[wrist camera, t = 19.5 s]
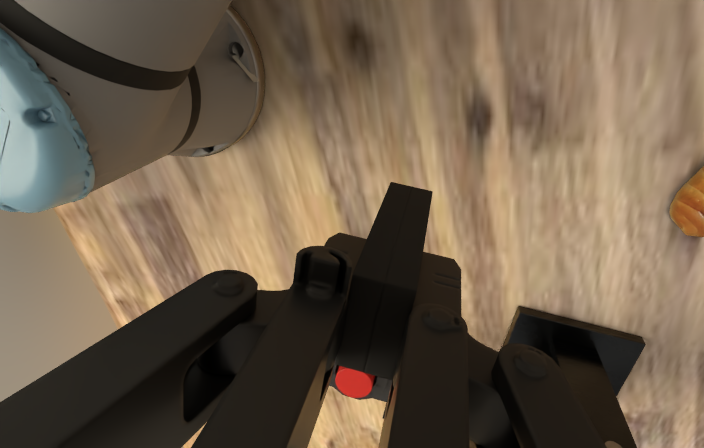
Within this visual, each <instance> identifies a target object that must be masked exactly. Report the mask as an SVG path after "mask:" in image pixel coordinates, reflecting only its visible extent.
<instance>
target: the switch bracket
mask: <svg viewBox="0 0 704 448" xmlns="http://www.w3.org/2000/svg"><path fill="white" fill-rule="evenodd" d="M509 343H521V344H525V345H529V346H532V347H534V348H536V349H539V350H541V351H543V352H544V353H545V354H547V355H548V356H549V357H551V358H552V359H553V360H554V361H555V362H556V364H557V365H558V366H559V367H560V369H561V370H562V372H563V374H564V375H565V377H566V379H567V381H568V382H569V384H570V386H571V387H572V389H573V391H574V392H575V394H576V396H577V397H578V399H579V401H580V403H581V404H582V406H583V408H584V409H585V411H586V413H587V414H588V416H589V418H590V420H591V421H592V423H593V425H594V426H595V428H596V430H597V431H598V433H599V435H600V437H601V438H602V440H603V442H604V443H605V445H606V447H607V448H637V447H636V444H635V442H634V439H633V437H632V434H631V432H630V429H629V427H628V425H627V422H626V420H625V417H624V415H623V412H622V410H621V408H620V405H619V403H618V400H617V398H616V396H617V394H618V393H619V391H620V389H621V387H622V386H623V384H624V382H625V380H626V379H627V377H628V375H629V373H630V372H631V370H632V368H633V366H634V364H635V363H636V361H637V359H638V357H639V356H640V354H641V352H642V350H643V349H644V347H645V345H646V344H645V342H644V340H643V339H642V337H639V336H635V335H631V334H627V333H623V332H619V331H616V330H612V329H608V328H604V327H600V326H596V325H592V324H588V323H584V322H580V321H576V320H572V319H568V318H564V317H560V316H556V315H552V314H548V313H544V312H540V311H536V310H532V309H528V308H524V307H520V306H519V307H518V309H517V311H516V314H515V317H514V319H513V322H512V324H511V327H510V329H509V332H508V334H507V337H506V339H505V342H504V345H503V346H505V345H507V344H509Z"/></svg>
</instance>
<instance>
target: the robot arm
mask: <svg viewBox="0 0 704 448" xmlns="http://www.w3.org/2000/svg"><path fill="white" fill-rule="evenodd" d="M231 1H232V0H0V209H2V210H6V211H10V212H18V211H21V212H26V213H33V212H40V211H44V210H48V209H50V208H54V207H57V206H60V205H63V204H66V203H69V202H75V201H77V200H80V199H83V198H84V197H86V196H87V195H88V194H89V193H90V192H92V191H94V190H96V189H98V188H100V187H102V186H104V185H106V184H109V183H111V182H113V181H115V180H117V179H119V178H121V177H123V176H125V175H127V174H129V173H131V172H133V171H135V170H137V169H139V168H141V167H143V166H145V165H148V164H150V163H152V162H154V161H156V160H158V159H160V158H162V157H164V156H166V155H172V156H188V157H202V156H209V155H212V154H216V153H218V152H221V151H223V150H225V149H226V148H228V147H230V146H232V145H233V144H235V143H237V142H238V141H239V140H241V139H242V138H243V137H244V136H245V135H246V134H247V133H248V132H249V131H250V129H251V128H252V126H253V125H254V124H255V122H256V120H257V118H258V116H259V113H260V111H261V107H262V104H263V99H264V92H265V74H264V66H263V61H262V57H261V54H260V51H259V48H258V45H257V43H256V41H255V38H254V36H253V34H252V33H251V31H250V29H249V28H248V26H247V25H246V23H245V22H244V20H243V19H242V18H241V17H240V15H239V14H238V13H237V12H236V11H235V10H234V9H233V8H232V7H231V6H230V3H231ZM431 198H432V191H428V190H424V189H420V188H415V187H411V186H406V185H402V184H397V183H393V182H391V183H390V185H389V188H388V190H387V193H386V195H385V197H384V200H383V202H382V205H381V207H380V209H379V212H378V214H377V217H376V219H375V221H374V224H373V226H372V229H371V231H370V233H369V236H368V238H367V239H364V238H360V237H356V236H352V235H347V234H343V233H338V234H336V235H334V236H332V237H330V238H329V239H328V240H327V242H326V244H325V245H324V246H310V247H307V248H304V249H302V250H300V251H299V252H298V253H297V256H296V264H295V272H294V280H293V284H292V286H291V287H290V289H288V290H282V291H265V290H257V286H258V284H257V282H256V281H255V279H254V278H253V277H252V276H250V275H248V274H247V273H244V272H240V271H237V270H221V271H215V272H213V273H210V274H208V275H206V276H204V277H202V278H201V279H199V280H198V281H196V282H194V283H193V284H191V285H189V286H188V287H186V288H185V289H183V290H181V291H180V292H178V293H176V294H175V295H173V296H172V297H170V298H168V299H167V300H165V301H164V302H162V303H160V304H159V305H157V306H155V307H154V308H152V309H151V310H149V311H147V312H146V313H144V314H142V315H141V316H139V317H138V318H136V319H134V320H133V321H131V322H130V323H128V324H126V325H125V326H123V327H121V328H120V329H118V330H117V331H115V332H114V333H112V334H110V335H109V336H107V337H105V338H104V339H102V340H100V341H99V342H97V343H96V344H94V345H93V346H91V347H89V348H88V349H86V350H84V351H83V352H81V353H79V354H78V355H76V356H75V357H73V358H71V359H70V360H68V361H67V362H65V363H63V364H62V365H60V366H58V367H57V368H55V369H54V370H52V371H50V372H49V373H47V374H45V375H44V376H42V377H41V378H39V379H37V380H36V381H34V382H32V383H31V384H29V385H28V386H26V387H25V388H23V389H21V390H19V391H18V392H16V393H15V394H13V395H12V396H10V397H8V398H6V399H5V400H3V401H2V402H0V448H181V447H182V446H183V445H184V444H185V443H186V442H187V441H188V440H189V439H190V438H191V437H192V436H193V435H194V434H195V433H196V432H197V431H198V430H199V429H200V428H201V427H202V426H203V425H204V424H205V423H206V422H207V423H206V425H205V426H204V428H203V429H202V431H201V433H200V434H199V436H198V437H197V439H196V441H195V442H194V444H193V445H192V447H191V448H307V446H308V444H309V441H310V438H311V435H312V432H313V429H314V427H315V424H316V421H317V418H318V415H319V412H320V409H321V407H322V404H323V401H324V398H325V395H326V392H327V390H328V387H329V384H330V381H331V377H332V371H333V366H334V362H335V360H336V363H335V365H339V366H342V367H346V368H349V369H353V370H356V371H360V372H364V373H367V374H371V375H374V376H378V377H381V378H385V379H388V380H392V385H391V388H390V392H389V396H388V400H387V403H386V407H385V411H384V415H383V419H384V422H383V427H382V432H381V437H380V443H379V448H607V447H606V445H605V443H604V442H603V440H602V438H601V437H600V435H599V433H598V431H597V430H596V428H595V426H594V425H593V423H592V421H591V420H590V418H589V416H588V414H587V413H586V411H585V409H584V408H583V406H582V404H581V403H580V401H579V399H578V397H577V396H576V394H575V392H574V391H573V389H572V387H571V386H570V384H569V382H568V381H567V379H566V377H565V375H564V374H563V372H562V370H561V369H560V367H559V366H558V365H557V364H556V362H555V361H554V360H553V359H552V358H551V357H549V356H548V355H547V354H545V353H544V352H543V351H541V350H539V349H536V348H534V347H532V346H529V345H525V344H521V343H509V344H507V345H505V346H503V347H502V348H501V350H500V351H499V352H497V351H495V350H493V349H491V348H489V347H487V346H485V345H483V344H481V343H480V342H478V341H477V340H475V339H474V338H473V337H472V336H470V335H469V333H468V331H467V325H466V322H465V320H464V319H463V318H462V317H461V269H460V267H459V266H458V264H457V263H456V261H455V260H454V259H451V258H447V257H443V256H439V255H435V254H430V253H426V252H423V249H424V242H425V236H426V230H427V223H428V217H429V210H430V204H431ZM336 357H337V358H336Z"/></svg>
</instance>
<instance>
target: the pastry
mask: <svg viewBox="0 0 704 448" xmlns="http://www.w3.org/2000/svg"><path fill="white" fill-rule="evenodd" d="M670 216H671V218H672V220H673V221H674V222H675V224H677V225H678V226H679V228H680V229H681V230H682V231H683V232H684V233H685V234H686V235H689V236H698V237H704V166H703V167H702V168H701V169H700V170H699V171H698V172H697V173H696V174H695V175H694V176H693V177H691V179H690V180H689V181H688V182H687V183H686V184H685V185H684V186H683V187H682V188H681V189H680V190H679V191H678V192H677V194H676V196H675V198H674V200H673V202H672V203H671V206H670Z"/></svg>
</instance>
